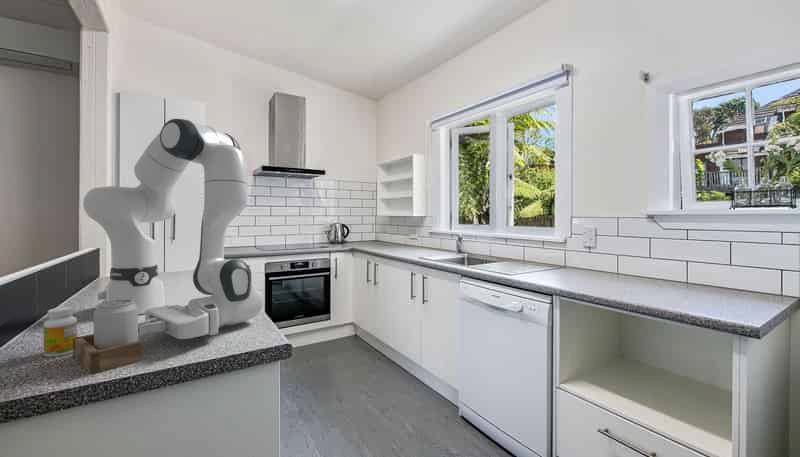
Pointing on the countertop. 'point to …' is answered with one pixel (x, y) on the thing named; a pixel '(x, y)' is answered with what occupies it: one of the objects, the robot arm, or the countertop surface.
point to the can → (115, 323)
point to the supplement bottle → (59, 332)
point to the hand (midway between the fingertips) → (136, 328)
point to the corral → (104, 354)
